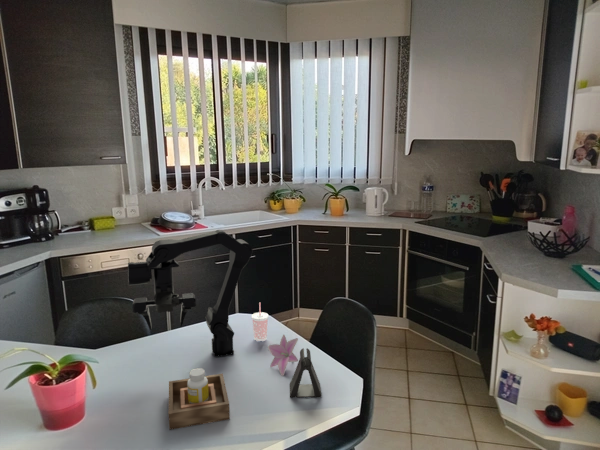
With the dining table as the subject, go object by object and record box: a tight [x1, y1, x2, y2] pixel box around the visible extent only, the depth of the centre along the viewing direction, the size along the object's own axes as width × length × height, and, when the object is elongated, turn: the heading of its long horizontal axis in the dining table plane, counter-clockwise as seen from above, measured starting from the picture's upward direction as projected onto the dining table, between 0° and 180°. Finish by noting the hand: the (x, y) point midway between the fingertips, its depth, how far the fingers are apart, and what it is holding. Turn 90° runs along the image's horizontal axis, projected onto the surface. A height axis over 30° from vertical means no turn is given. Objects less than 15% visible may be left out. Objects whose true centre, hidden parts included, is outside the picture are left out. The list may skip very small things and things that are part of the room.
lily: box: [267, 334, 299, 377], centre depth 136 cm, size 12×12×10 cm
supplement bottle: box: [187, 367, 209, 404], centre depth 115 cm, size 5×5×10 cm
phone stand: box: [289, 347, 322, 399], centre depth 122 cm, size 9×6×12 cm, turn 91°
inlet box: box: [167, 373, 231, 431], centre depth 115 cm, size 15×15×4 cm
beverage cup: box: [251, 302, 269, 342], centre depth 154 cm, size 6×6×14 cm
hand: (166, 327), depth 136 cm, fingers open, 9 cm apart
